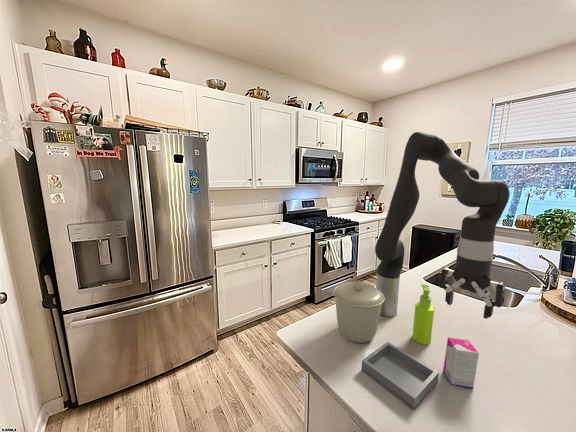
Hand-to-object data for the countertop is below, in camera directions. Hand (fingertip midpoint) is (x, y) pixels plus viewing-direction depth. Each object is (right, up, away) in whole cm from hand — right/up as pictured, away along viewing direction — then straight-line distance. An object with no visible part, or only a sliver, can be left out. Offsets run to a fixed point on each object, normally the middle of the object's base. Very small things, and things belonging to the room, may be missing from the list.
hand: (466, 310), depth 67 cm
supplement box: (0, -22, +4) cm, 22 cm away
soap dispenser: (-1, -19, +21) cm, 29 cm away
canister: (-24, -19, +24) cm, 39 cm away
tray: (-17, -22, +5) cm, 28 cm away
